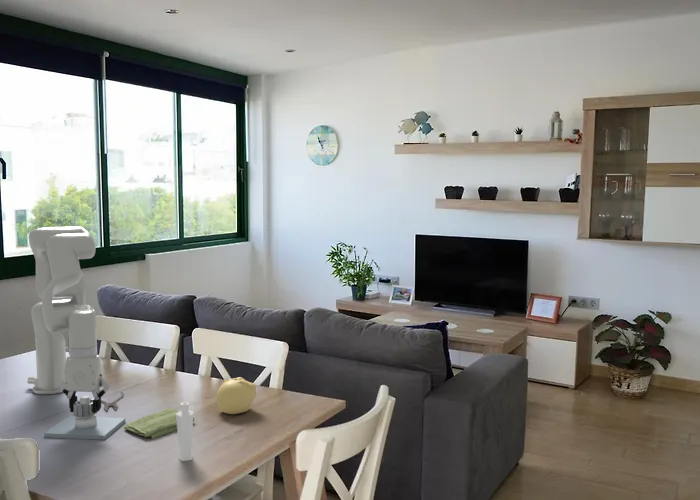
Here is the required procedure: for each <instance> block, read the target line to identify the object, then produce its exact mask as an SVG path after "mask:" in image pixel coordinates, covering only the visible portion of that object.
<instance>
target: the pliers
mask: <svg viewBox="0 0 700 500" xmlns="http://www.w3.org/2000/svg"><path fill="white" fill-rule="evenodd" d="M120 394H121V396H120V397H118V398H116V399H115V400H113V401H112V402H107V401H105V400H102V399H101V404H103V405H104V406H103V410H104V411H105V412H106V413H108V410H109V409H110V408H112V409H113V410H114V412H117V411H118V408H119V406H118V405H117V403H118V402H119V401H120V400H121V399H123V398H124V395H125V393H124V392H123V391H120Z"/></svg>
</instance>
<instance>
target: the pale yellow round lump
mask: <svg viewBox="0 0 700 500" xmlns="http://www.w3.org/2000/svg"><path fill="white" fill-rule="evenodd" d="M256 390H257V385H256V384H255V383H254V382H250V381H248V380H246V379H245V378H243V377H241V376H238V377H236V378H235V377H233V378H227V379H224V380H223V383H222V384H221V385H220V386H219V388H218V390H217V393H216V397H215V398H216V404H217V407H218V408H219V410H220V411H221V412H222V413H224V414H227V415H237V414H242V413H245V412H247V411H249V410H250V408H251V407H252V406H253V403H254V399H255V398H256V395H257V392H256Z"/></svg>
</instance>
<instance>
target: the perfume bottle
mask: <svg viewBox="0 0 700 500" xmlns="http://www.w3.org/2000/svg"><path fill="white" fill-rule="evenodd" d="M189 404H190V402H185V401H183V402H181V403H180V410H179V411H178V413H176V421H177V430H176V431H177V440H178V442H177V443H178V450H179V454H178V460H180V462H186V461H192V460H193V458H194V455H193V450H192V449H193V448H192V447H193V430H194V429H193V428H194V427H193V426H194V422H193V417H194V411H193V410H190V409H189Z"/></svg>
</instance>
